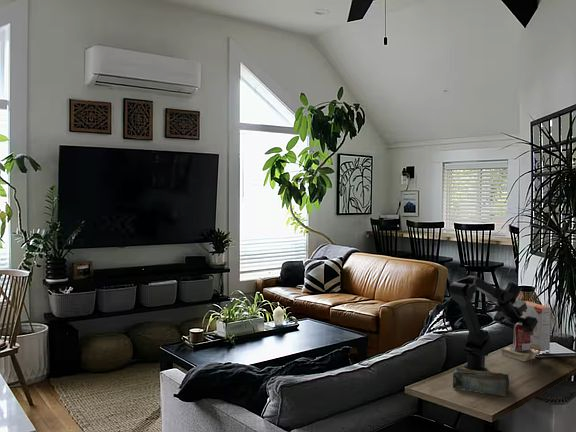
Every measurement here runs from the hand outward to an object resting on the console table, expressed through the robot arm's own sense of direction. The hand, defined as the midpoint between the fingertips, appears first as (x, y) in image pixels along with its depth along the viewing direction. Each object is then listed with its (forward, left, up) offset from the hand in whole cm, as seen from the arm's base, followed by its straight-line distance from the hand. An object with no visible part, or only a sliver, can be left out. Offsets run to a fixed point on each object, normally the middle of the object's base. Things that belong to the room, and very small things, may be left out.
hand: (523, 331), depth 246 cm
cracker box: (+11, +4, -11) cm, 16 cm away
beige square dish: (-1, 0, -11) cm, 11 cm away
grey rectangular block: (-46, -22, -11) cm, 52 cm away
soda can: (-2, -1, -8) cm, 8 cm away
